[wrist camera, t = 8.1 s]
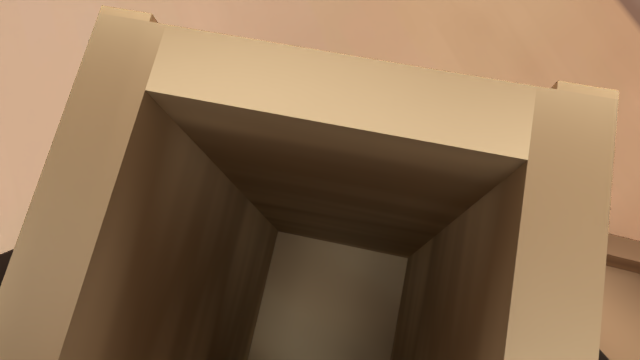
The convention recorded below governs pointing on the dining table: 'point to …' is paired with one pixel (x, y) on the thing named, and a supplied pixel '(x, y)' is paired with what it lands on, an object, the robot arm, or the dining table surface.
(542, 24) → the dining table surface
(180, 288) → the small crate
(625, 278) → the crate
